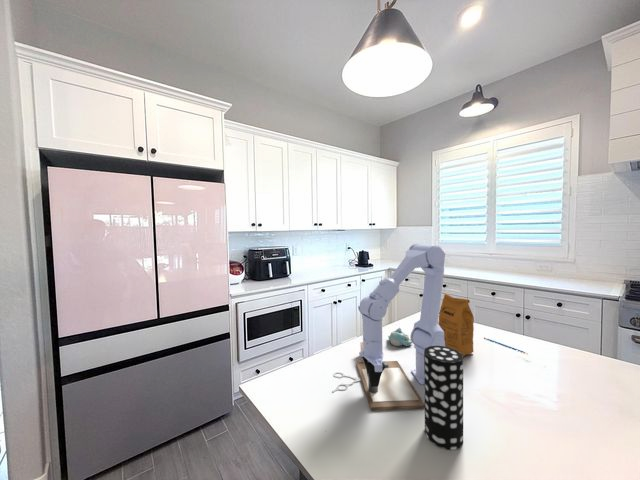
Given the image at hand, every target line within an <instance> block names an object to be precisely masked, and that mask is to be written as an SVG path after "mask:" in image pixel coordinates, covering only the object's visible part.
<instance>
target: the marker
mask: <svg viewBox="0 0 640 480" xmlns="http://www.w3.org/2000/svg"><path fill="white" fill-rule="evenodd" d="M368 362H369V361H368ZM368 388H369V392H371V393H377V392H378V387H371V384H370V379H369V373H368Z"/></svg>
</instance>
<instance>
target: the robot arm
mask: <svg viewBox="0 0 640 480" xmlns="http://www.w3.org/2000/svg"><path fill="white" fill-rule="evenodd" d="M445 259H446V253H445V251H444V250H443V248H442V247H441V246H440V245H437V244H434V245H432V244H419V243H413V244H412V245H410V246H409V248H408V249H407V250H406V251H405V257H404V258H403V259H402V260H401V262H400V264H398V266H397V268H396V269H395V270H394V271H393V273H392V274H391V275H390V277H388V278H383V279H381V280H380V281H379V284H378V285H377V286H376V287H375V288H374V289H373V291H372V292H370V293H369V295H368V296H366V297H363V298H362V299H361V301H360V303H359V305H358V307H357V308H358V309H357V310H358V311H359V313H360V314H361V319H362V342H363V351H361V350H360V351H359V352H358V355H359V357H360V358H361V359H362V358H363V360H364V362H365V366H366V370H367V375H368V373H369V379H370V384H371V387H378V385H379V382H380V377H381V374H382V372H383V370H384V369H385V364H384V363H382V361H384V359H383V358H384V351H383V350H384V349H383V347H384V346H383V318H385V316H386V314H387V309H388V308H389V304H390V303H391V302H392V300H393V299H394V298H395V297H396V296H397V294H399V292H400V285H401V284H402V283H403V282H404V281H405V279H407V278H408V276H409V275H410V274H411V273H412V272H414V270H415V269H419V268H420V269H422V272H424V273H425V274H424V275H425V276H424V284H423V293H422V301H421V309H420V317H419V319H418V321H416V322H414V324H413V329H412V330H411V332H410V337H409V339H411V342H412V343H411V344H413V346H414V347H413V348H414V349H415V369H411V373H412V374H413V376H414V377H415V379H416V380H417V381H418V384H420V385H424V350H425V348H427V347H429V346H445V340H444V331H443V330H442V329H441V327H440V326H439V324H438V321H439V312H440V309H441V300H442V291H443V282H444V275H445ZM363 360H362V361H363ZM368 361H369V362H368Z"/></svg>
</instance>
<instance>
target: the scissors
mask: <svg viewBox="0 0 640 480" xmlns="http://www.w3.org/2000/svg"><path fill="white" fill-rule="evenodd" d="M337 374H340V375H341V376H339V375H337ZM332 375H333V377H334V378H335V379H336V378H337V379H342V378H349V379H352V380H353V381H352V382H350V383H339V384H338V385H337V386H336V389H334V390H332V391H331V392H332V393H335V392H337V391H340V392H344V391H347V390H348V389H349V387H350V386H353V385H354V384H355V383H359V382H360V383H361V382H362V380H361V377H356V376H350V375H345V374H344V373H342V372H334V373H333V374H332ZM354 379H355V380H354ZM341 386H343V387H344V388H339V387H341Z"/></svg>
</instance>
